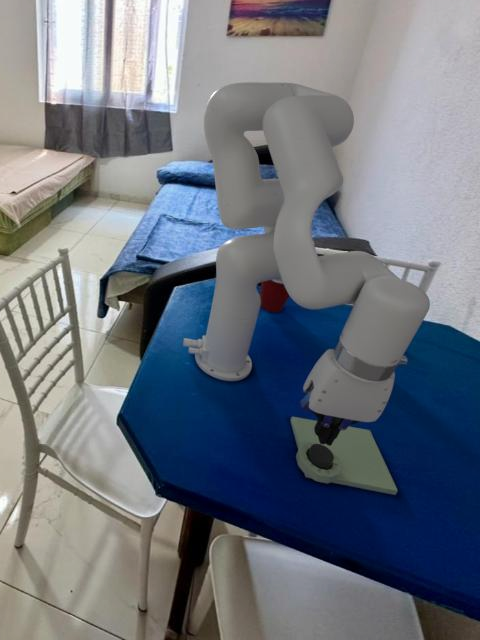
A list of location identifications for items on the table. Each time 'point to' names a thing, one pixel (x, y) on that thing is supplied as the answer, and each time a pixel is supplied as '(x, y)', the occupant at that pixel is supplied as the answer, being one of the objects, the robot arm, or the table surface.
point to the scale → (344, 458)
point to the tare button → (320, 456)
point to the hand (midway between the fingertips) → (322, 437)
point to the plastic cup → (273, 295)
